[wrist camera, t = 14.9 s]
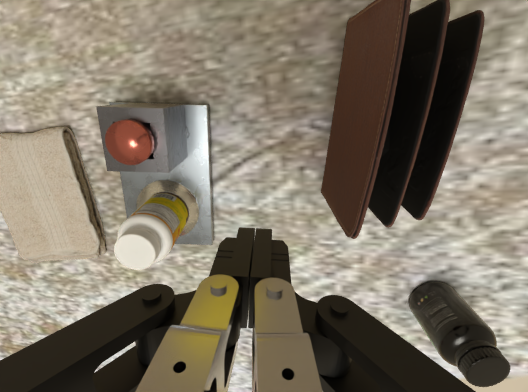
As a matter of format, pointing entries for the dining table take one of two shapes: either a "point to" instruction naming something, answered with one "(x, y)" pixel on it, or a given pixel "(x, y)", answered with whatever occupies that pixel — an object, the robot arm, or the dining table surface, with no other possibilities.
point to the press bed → (168, 161)
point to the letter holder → (397, 109)
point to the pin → (130, 141)
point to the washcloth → (48, 197)
